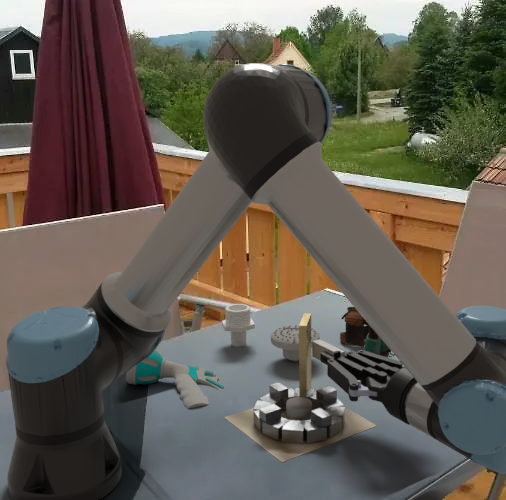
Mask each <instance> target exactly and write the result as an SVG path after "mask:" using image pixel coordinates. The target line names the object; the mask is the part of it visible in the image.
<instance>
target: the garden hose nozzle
mask: <svg viewBox="0 0 506 500" xmlns="http://www.w3.org/2000/svg"><path fill="white" fill-rule="evenodd" d="M125 374H126V375H125V380H126V381H127V384H131V385H134V386H135V385H136V386H137V385H150V384H153V383H155V382H158V381H159V380H162V379H171V378H174V385H175V386H176V389H177V391H178V392H179V393H180V394H179V395H180V396H179V398H180V400H182V404H183V405H184V407H185V408H186V409H187V410H188V409H193V408H199V407H204V406H209V405H210V403H209V399H208V397H207V396H206V395H205V394H204V393H203V390H202V389H201V388H200V386H199V385H198V384H204V385H206V386H207V385H208V386H211V387H213V388H215V389H217V390H220V391H221V390H223V389H224V388H225V387H226V386H224V385H222V384H221V383H219V382H218V380H219V379H220V376H217V374H215V372H213V371H209V370H207V369H205V367H203V366H202V367H201V366H198V365H196V366H191V365H186V364H185V365H184V364H182V363H176V362H174V361H169V360H167V358H165V357H163V356H162V355H161V354H160V353H159V352H158V351H157V350H155V351H154V352H153V353H152V354H151V355H150V356H149V357H148V358H146V359H145V360H143V361H142V362H140V363H138V364H137V365H135V366H134V367H132V368H131V369H130V370H128V371H127V372H126V373H125Z"/></svg>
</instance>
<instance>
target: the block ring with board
mask: <svg viewBox="0 0 506 500" xmlns="http://www.w3.org/2000/svg"><path fill="white" fill-rule="evenodd" d="M298 326H299V361H298V371H299V372H298V373H299V374H298V375H299V376H298V377H299V378H298V379H299V380H298V381H299V385H298V387H296V388H295V390H294V389H293V387H290V388H289V387H287V386H285V385H283V384H282V383H280V382H274V383H272V384H269V386H268V387H269V393H267V394H265V395H263V396H261V397H260V398H258V400H257V401H256V402H255V404H254V407H253V408H254V409H253V414H254V424H255V425H256V427H257V428H258V430H259V431H260V432H262V433H263V434H264V435H266V436H269V437H271V438H273V439H276V440H280V439H282V442H293V443H303V441H304V440H305V441H306V442H307V443H311V442H316V441H321V440H326V439H327V437H328V438H331V437H332V436H334V435H335V434H337V433H338V432H340V431H341V430H342V428H343V426H344V420H345V404H343V403H342V401H341V400H340V399H339V398H338V390H337V389H336V388H335V387H332V386H330V385H329V386H326V387H322V388H319V389H317V390H316V389H315V388H312V348H311V328H312V313H309V312H308V313H307V312H304V313H303V315H302V317H301V320H300V322H299V324H298ZM314 389H315V390H316V391H315V392H314ZM294 397H304V398H307V399H309V400H311V401H312V411H311V419H310V420H305V421H298V420H288V419H285V418H283V417H281V411H282V410H284V409H286V402H287V400H288V399H290V398H294Z"/></svg>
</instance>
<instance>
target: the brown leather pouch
mask: <svg viewBox="0 0 506 500" xmlns="http://www.w3.org/2000/svg"><path fill="white" fill-rule="evenodd" d="M346 310H347V312H345V314H343V315H342V316H341V320H344V322H345V331H343V332H341V331H340V333H339V340H340V343H342V344H349V345H350V346H355V347H359V348H365V345H364V343H363V342H364V339H366V337H367V335H368V333H369V330H368V329H369V324H368V323H367V321H366V320H365V319H364V318H363V317H362V316H361V314H360V313H359V312H358V311H357V310H356V308H355V307H354V306H348V307H347V309H346Z"/></svg>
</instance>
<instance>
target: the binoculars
mask: <svg viewBox="0 0 506 500" xmlns="http://www.w3.org/2000/svg"><path fill="white" fill-rule="evenodd" d="M368 330H369V333H368V335H367V337H366V339H364V342H363V343H364V345H365V346H364V347H363V348H364V349H363V350H364V351H367V352H371V353H374V354H377V355H381V356H384V357H387V358H389V355H391V356H393V357H394V356H395V354H394V353H392V351H391V350H390V349H389V347H388V346H387V345H386V344H385V343H384V342H383V340H382V339H381V338H380V337H379V336H378V334H377V333H376V332H375V331H374V330H373V329H372V327H371V326H370V325H369V329H368ZM395 357H396V356H395ZM365 358H367V357H365Z"/></svg>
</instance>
